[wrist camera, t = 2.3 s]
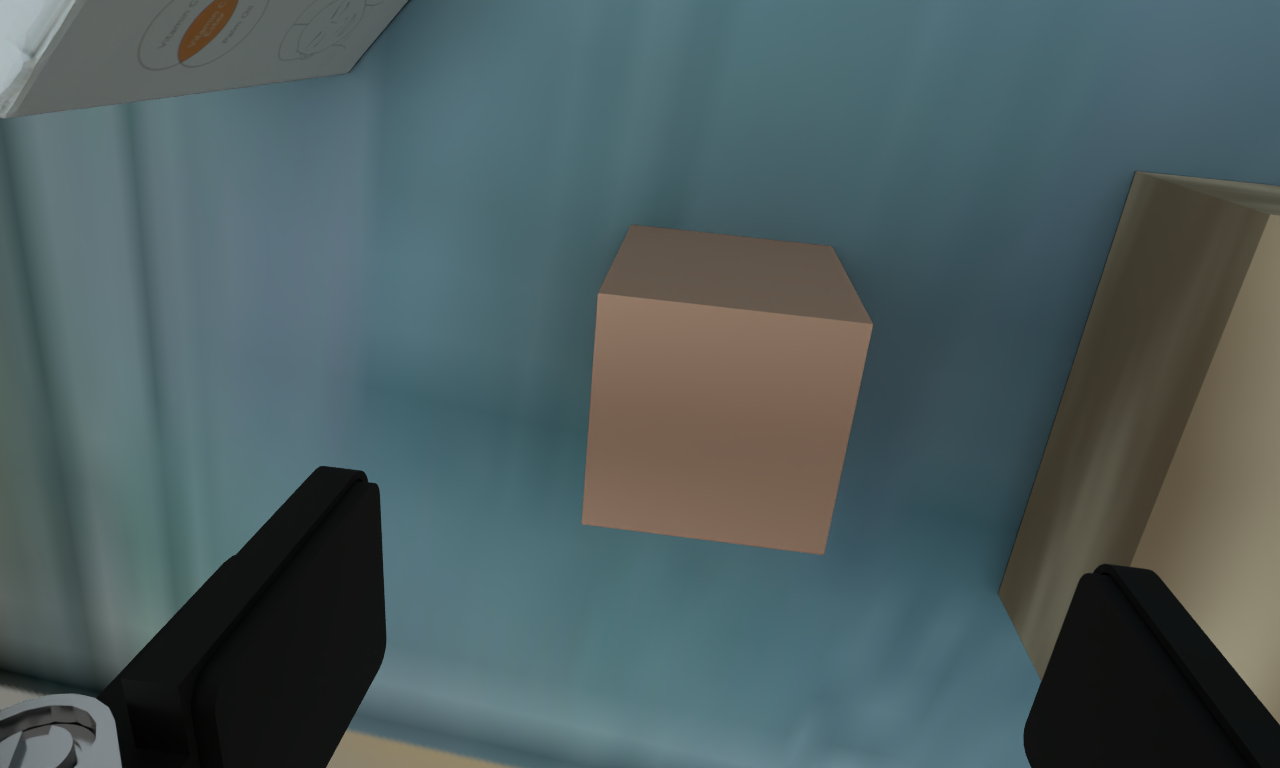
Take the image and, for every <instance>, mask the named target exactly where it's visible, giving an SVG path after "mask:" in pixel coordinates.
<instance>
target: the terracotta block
mask: <svg viewBox="0 0 1280 768" xmlns="http://www.w3.org/2000/svg"><path fill="white" fill-rule="evenodd" d="M872 328H873V323H872V321H871V319H870V317H869V315H868V313H867V311H866V309H865V308H864V306H863V304H862V302H861V300H860V298H859V296H858V294H857V292H856V290H855V289H854V287H853V285H852V283H851V281H850V279H849V277H848V275H847V273H846V272H845V270H844V268H843V266H842V264H841V262H840V260H839V258H838V256H837V254H836V253H835V251H834V249H833V247H832V246H826V245H816V244H807V243H798V242H789V241H779V240H770V239H761V238H752V237H742V236H733V235H724V234H715V233H705V232H696V231H687V230H678V229H668V228H659V227H650V226H641V225H631V226H630V228H629V230H628V232H627V234H626V236H625V238H624V241H623V243H622V245H621V247H620V249H619V251H618V253H617V255H616V257H615V259H614V261H613V263H612V265H611V267H610V269H609V271H608V273H607V276H606V278H605V280H604V282H603V284H602V286H601V288H600V290H599V292H598V300H597V314H596V328H595V343H594V357H593V371H592V385H591V400H590V414H589V428H588V442H587V457H586V471H585V485H584V499H583V514H582V524H584V525H592V526H600V527H608V528H616V529H623V530H631V531H639V532H647V533H655V534H663V535H671V536H678V537H686V538H694V539H702V540H710V541H718V542H726V543H733V544H741V545H749V546H757V547H765V548H773V549H781V550H788V551H796V552H804V553H812V554H820V555H824V552H825V547H826V542H827V538H828V533H829V528H830V524H831V519H832V514H833V510H834V505H835V500H836V496H837V491H838V486H839V482H840V477H841V472H842V468H843V463H844V458H845V454H846V449H847V444H848V440H849V435H850V430H851V426H852V421H853V416H854V412H855V407H856V402H857V398H858V393H859V388H860V384H861V379H862V374H863V370H864V365H865V360H866V356H867V351H868V346H869V342H870V337H871V332H872Z"/></svg>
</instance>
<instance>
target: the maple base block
mask: <svg viewBox="0 0 1280 768" xmlns="http://www.w3.org/2000/svg"><path fill="white" fill-rule="evenodd" d="M1102 564H1112V565H1120V566H1128V567H1136V568H1144V569H1149V570H1153V571H1154V572H1155V573H1156V574H1157V575H1158V576H1159V577H1160V578H1161V579H1162V581H1163V582H1164V583H1165V584H1166V586H1167V587H1168V588H1169V589H1170V591H1171V592H1172V593H1173V594H1174V595H1175V597H1176V598H1177V599H1178V600H1179V602H1180V603H1181V604H1182V605H1183V606H1184V608H1185V609H1186V610H1187V611H1188V613H1189V614H1190V615H1191V616H1192V618H1193V619H1194V620H1195V621H1196V622H1197V624H1198V625H1199V626H1200V627H1201V629H1202V630H1203V631H1204V632H1205V634H1206V635H1207V636H1208V637H1209V638H1210V640H1211V641H1212V642H1213V643H1214V645H1215V646H1216V647H1217V648H1218V649H1219V651H1220V652H1221V653H1222V654H1223V656H1224V657H1225V658H1226V659H1227V661H1228V662H1229V663H1230V664H1231V665H1232V667H1233V668H1234V669H1235V670H1236V672H1237V673H1238V674H1239V675H1240V676H1241V678H1242V679H1243V680H1244V681H1245V683H1246V684H1247V685H1248V686H1249V688H1250V689H1251V690H1252V691H1253V692H1254V694H1255V695H1256V696H1257V697H1258V699H1259V700H1260V701H1261V702H1262V704H1263V705H1264V706H1265V707H1266V708H1267V710H1268V711H1269V712H1270V713H1271V715H1272V716H1273V717H1274V718H1275V719H1276V721H1277V722H1278V723H1279V724H1280V186H1275V185H1266V184H1256V183H1246V182H1236V181H1227V180H1217V179H1207V178H1197V177H1188V176H1178V175H1168V174H1158V173H1149V172H1139V171H1136V173H1135V176H1134V179H1133V182H1132V185H1131V188H1130V191H1129V194H1128V197H1127V200H1126V203H1125V206H1124V209H1123V212H1122V216H1121V219H1120V222H1119V225H1118V228H1117V231H1116V234H1115V237H1114V240H1113V243H1112V246H1111V249H1110V252H1109V255H1108V258H1107V262H1106V265H1105V268H1104V271H1103V274H1102V277H1101V280H1100V283H1099V286H1098V289H1097V292H1096V295H1095V298H1094V301H1093V304H1092V308H1091V311H1090V314H1089V317H1088V320H1087V323H1086V326H1085V329H1084V332H1083V335H1082V338H1081V341H1080V344H1079V347H1078V350H1077V354H1076V357H1075V360H1074V363H1073V366H1072V369H1071V372H1070V375H1069V378H1068V381H1067V384H1066V387H1065V390H1064V393H1063V396H1062V400H1061V403H1060V406H1059V409H1058V412H1057V415H1056V418H1055V421H1054V424H1053V427H1052V430H1051V433H1050V436H1049V439H1048V443H1047V446H1046V449H1045V452H1044V455H1043V458H1042V461H1041V464H1040V467H1039V470H1038V473H1037V476H1036V479H1035V482H1034V485H1033V489H1032V492H1031V495H1030V498H1029V501H1028V504H1027V507H1026V510H1025V513H1024V516H1023V519H1022V522H1021V525H1020V528H1019V531H1018V535H1017V538H1016V541H1015V544H1014V547H1013V550H1012V553H1011V556H1010V559H1009V562H1008V565H1007V568H1006V571H1005V574H1004V577H1003V581H1002V584H1001V587H1000V590H999V593H998V594H999V596H1000V599H1001V601H1002V603H1003V605H1004V607H1005V609H1006V611H1007V613H1008V615H1009V617H1010V619H1011V621H1012V623H1013V625H1014V627H1015V629H1016V631H1017V633H1018V635H1019V637H1020V639H1021V641H1022V643H1023V645H1024V647H1025V649H1026V651H1027V653H1028V655H1029V657H1030V659H1031V661H1032V663H1033V665H1034V667H1035V669H1036V671H1037V673H1038V675H1039V677H1040V679H1041V681H1042V678H1043V676H1044V673H1045V670H1046V668H1047V665H1048V662H1049V660H1050V657H1051V654H1052V652H1053V649H1054V646H1055V643H1056V641H1057V638H1058V635H1059V633H1060V630H1061V627H1062V625H1063V622H1064V619H1065V617H1066V614H1067V611H1068V609H1069V606H1070V603H1071V600H1072V598H1073V595H1074V592H1075V590H1076V587H1077V584H1078V582H1079V580H1080V578H1081V577H1082V576H1083V575H1084V574H1086V573H1093V572H1094V570H1095V569H1096V568H1097V567H1098V566H1099V565H1102Z"/></svg>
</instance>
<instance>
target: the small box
mask: <svg viewBox="0 0 1280 768" xmlns="http://www.w3.org/2000/svg"><path fill="white" fill-rule="evenodd" d="M407 2H408V0H0V118H13V117H21V116H29V115H36V114H44V113H51V112H59V111H66V110H74V109H84V108H91V107H98V106H107V105H115V104H122V103H130V102H137V101H145V100H153V99H161V98H169V97H178V96H184V95H189V94H200V93H207V92H214V91H221V90H229V89H237V88H245V87H252V86H259V85H265V84H272V83H281V82H289V81H297V80H303V79H310V78H318V77H326V76H334V75H344V74H346V73H348V72H349V71H350V70H351V69H352V68H353V66H354V65H355V64H356V62H357V61H358V60H359V59H360V57H361V56H362V55H363V54H364V53H365V51H366V50H367V49H368V48H369V47H370V45H371V44H372V43H373V42H374V41H375V39H376V38H377V37H378V36H379V35H380V34H381V32H382V31H383V30H384V29H385V28H386V26H387V25H388V24H389V23H390V22H391V20H392V19H393V18H394V17H395V16H396V14H397V13H398V12H399V11H400V10H401V9H402V7H403V6H404V5H405V4H406V3H407Z"/></svg>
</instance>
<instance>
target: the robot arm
mask: <svg viewBox="0 0 1280 768" xmlns="http://www.w3.org/2000/svg"><path fill="white" fill-rule="evenodd" d="M385 648H386V620H385V598H384V576H383V554H382V532H381V509H380V492H379V487H378V485H377V484H376V483H369V482H368V479H367V476H366V474H365V473H364V472H363V471H360V470H352V469H344V468H336V467H328V466H320V467H318V468H317V469H316V470H315V471H314V472H313V473H312V474H311V475H310V476H309V477H308V478H307V479H306V480H305V481H304V482H303V484H302V485H301V486H300V487H299V488H298V489H297V490H296V491H295V492H294V493H293V494H292V495H291V496H290V497H289V498H288V500H287V501H286V502H285V503H284V504H283V505H282V506H281V507H280V508H279V509H278V510H277V511H276V512H275V513H274V515H273V516H272V517H271V518H270V519H269V520H268V521H267V522H266V523H265V524H264V525H263V526H262V527H261V528H260V530H259V531H258V532H257V533H256V534H255V535H254V536H253V537H252V538H251V539H250V540H249V541H248V542H247V543H246V545H245V546H244V547H243V548H242V549H241V550H240V551H239V552H238V553H237V554H236V555H234V556H232V557H231V558H229V559H228V560H227V561H226V562H224V563H223V564H222V565H221V566H220V567H219V569H218V570H217V571H216V572H215V573H214V574H213V575H212V576H211V577H210V578H209V579H208V580H207V581H206V582H205V583H204V584H203V585H202V587H201V588H200V589H199V590H198V591H197V592H196V593H195V594H194V595H193V596H192V597H191V598H190V599H189V600H188V601H187V602H186V604H185V605H184V606H183V607H182V608H181V609H180V610H179V611H178V612H177V613H176V614H175V615H174V616H173V617H172V618H171V619H170V620H169V622H168V623H167V624H166V625H165V626H164V627H163V628H162V629H161V630H160V631H159V632H158V633H157V634H156V635H155V636H154V637H153V639H152V640H151V641H150V642H149V643H148V644H147V645H146V646H145V647H144V648H143V649H142V650H141V651H140V652H139V653H138V654H137V655H136V657H135V658H134V659H133V660H132V661H131V662H130V663H129V664H128V665H127V666H126V667H125V668H124V669H123V670H122V671H121V672H120V674H119V675H118V676H117V677H116V678H115V679H114V680H113V681H112V682H111V683H110V684H109V685H108V686H107V687H106V688H105V689H104V690H103V692H102V693H101V694H100V695H99V696H98V697H97V698H92V697H88V696H83V695H79V694H55V695H47V696H43V697H38V698H34V699H29V700H25V701H22V702H20V703H17V704H14V705H12V706H10V707H7V708H4V709H2V710H0V768H326V767H327V765H328V763H329V761H330V759H331V757H332V755H333V754H334V752H335V750H336V748H337V746H338V744H339V743H340V741H341V739H342V737H343V735H344V733H345V731H346V730H347V728H348V726H349V724H350V722H351V720H352V718H353V717H354V715H355V713H356V711H357V709H358V707H359V705H360V704H361V702H362V700H363V698H364V696H365V694H366V692H367V691H368V689H369V687H370V685H371V683H372V681H373V679H374V678H375V676H376V674H377V672H378V670H379V668H380V666H381V664H382V661H383V658H384V653H385ZM1024 748H1025V753H1026V756H1027V759H1028V761H1029V763H1030V766H1031V768H1280V724H1279V723H1278V722H1277V721H1276V719H1275V718H1274V717H1273V716H1272V715H1271V713H1270V712H1269V711H1268V710H1267V708H1266V707H1265V706H1264V705H1263V704H1262V702H1261V701H1260V700H1259V699H1258V697H1257V696H1256V695H1255V694H1254V692H1253V691H1252V690H1251V689H1250V688H1249V686H1248V685H1247V684H1246V683H1245V681H1244V680H1243V679H1242V678H1241V676H1240V675H1239V674H1238V673H1237V672H1236V670H1235V669H1234V668H1233V667H1232V665H1231V664H1230V663H1229V662H1228V661H1227V659H1226V658H1225V657H1224V656H1223V654H1222V653H1221V652H1220V651H1219V649H1218V648H1217V647H1216V646H1215V645H1214V643H1213V642H1212V641H1211V640H1210V638H1209V637H1208V636H1207V635H1206V634H1205V632H1204V631H1203V630H1202V629H1201V627H1200V626H1199V625H1198V624H1197V622H1196V621H1195V620H1194V619H1193V618H1192V616H1191V615H1190V614H1189V613H1188V611H1187V610H1186V609H1185V608H1184V606H1183V605H1182V604H1181V603H1180V602H1179V600H1178V599H1177V598H1176V597H1175V595H1174V594H1173V593H1172V592H1171V591H1170V589H1169V588H1168V587H1167V586H1166V584H1165V583H1164V582H1163V581H1162V579H1161V578H1160V577H1159V576H1158V575H1157V574H1156V573H1155V572H1154V571H1153V570H1149V569H1144V568H1136V567H1128V566H1120V565H1112V564H1102V565H1099V566H1098V567H1097V568H1096V569H1095V570H1094V572H1093V573H1086V574H1084V575H1083V576H1082V577H1081V578H1080V580H1079V582H1078V584H1077V587H1076V590H1075V592H1074V595H1073V598H1072V600H1071V603H1070V606H1069V609H1068V611H1067V614H1066V617H1065V619H1064V622H1063V625H1062V627H1061V630H1060V633H1059V635H1058V638H1057V641H1056V643H1055V646H1054V649H1053V652H1052V654H1051V657H1050V660H1049V662H1048V665H1047V668H1046V670H1045V673H1044V676H1043V678H1042V681H1041V684H1040V687H1039V689H1038V692H1037V695H1036V697H1035V700H1034V703H1033V705H1032V708H1031V711H1030V713H1029V716H1028V719H1027V721H1026V724H1025V728H1024Z"/></svg>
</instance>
